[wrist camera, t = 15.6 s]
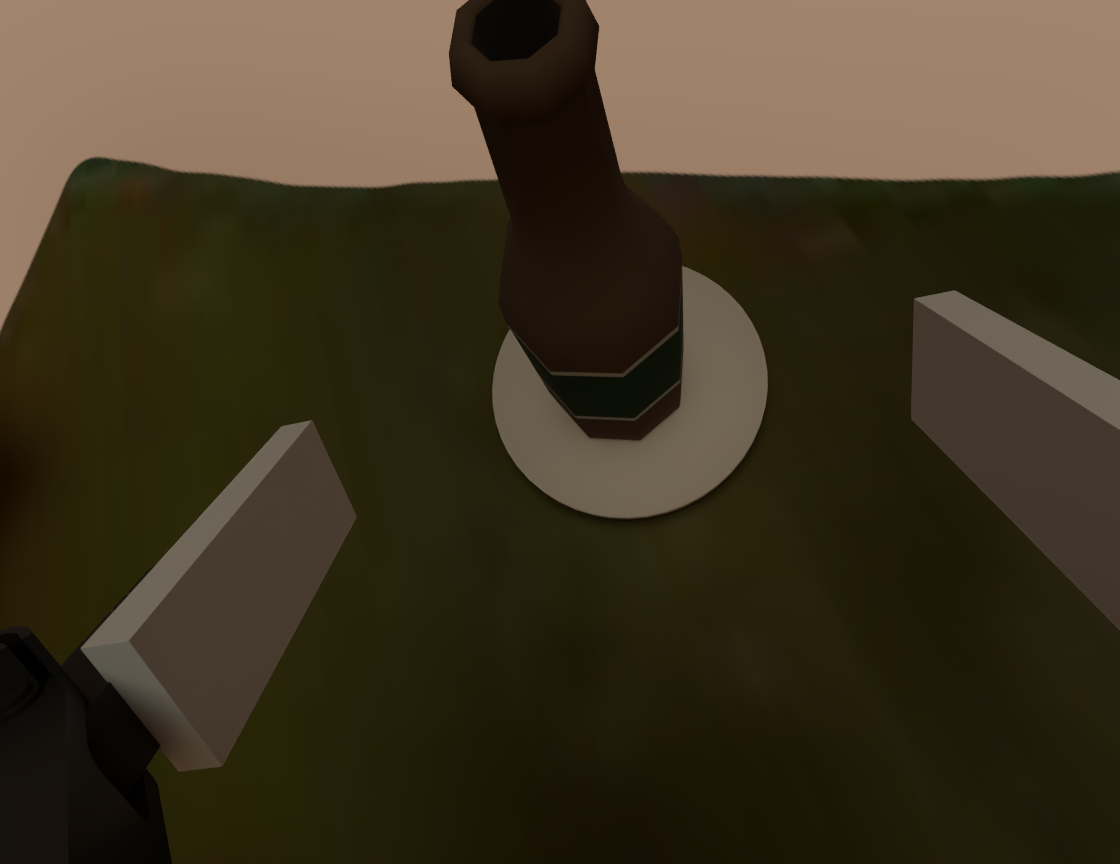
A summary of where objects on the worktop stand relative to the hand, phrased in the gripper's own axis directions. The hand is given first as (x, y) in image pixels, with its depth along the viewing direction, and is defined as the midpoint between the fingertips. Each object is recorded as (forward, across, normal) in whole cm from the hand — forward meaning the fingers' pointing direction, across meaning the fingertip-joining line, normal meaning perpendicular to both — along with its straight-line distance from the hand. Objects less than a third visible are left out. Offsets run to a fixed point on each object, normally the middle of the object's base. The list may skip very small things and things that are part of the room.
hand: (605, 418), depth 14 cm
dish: (+23, 0, -10) cm, 25 cm away
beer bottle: (+22, 0, -9) cm, 24 cm away
